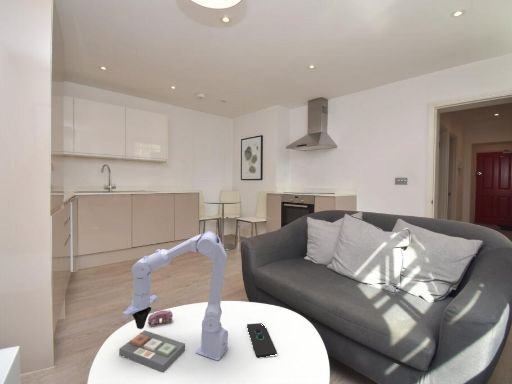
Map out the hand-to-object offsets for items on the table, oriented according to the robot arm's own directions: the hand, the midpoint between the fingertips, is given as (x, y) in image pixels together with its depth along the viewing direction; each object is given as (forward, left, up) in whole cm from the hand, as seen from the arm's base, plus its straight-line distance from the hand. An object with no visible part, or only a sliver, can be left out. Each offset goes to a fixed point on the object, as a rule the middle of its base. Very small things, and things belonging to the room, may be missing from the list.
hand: (140, 327), depth 96 cm
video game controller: (+4, -16, -8) cm, 19 cm away
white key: (-6, 0, -6) cm, 8 cm away
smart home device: (-39, -24, -8) cm, 47 cm away
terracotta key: (0, 0, -6) cm, 6 cm away
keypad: (-6, 0, -8) cm, 10 cm away
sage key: (-12, 0, -6) cm, 13 cm away
